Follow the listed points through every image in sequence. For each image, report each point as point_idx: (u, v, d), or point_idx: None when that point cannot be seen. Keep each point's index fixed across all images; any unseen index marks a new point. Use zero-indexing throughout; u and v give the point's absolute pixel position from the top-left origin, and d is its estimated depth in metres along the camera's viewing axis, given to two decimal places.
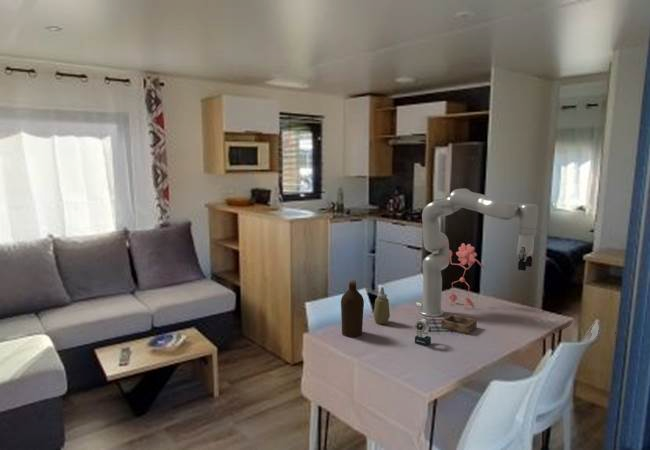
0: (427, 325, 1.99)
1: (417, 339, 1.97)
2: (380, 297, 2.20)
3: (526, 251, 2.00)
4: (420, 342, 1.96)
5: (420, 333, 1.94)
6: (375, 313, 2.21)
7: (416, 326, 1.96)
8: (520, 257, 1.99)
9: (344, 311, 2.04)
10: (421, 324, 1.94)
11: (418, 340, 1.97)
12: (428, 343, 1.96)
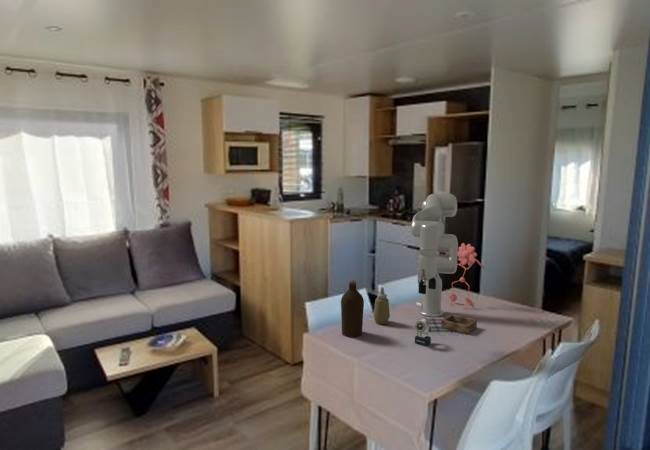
0: (427, 325, 1.99)
1: (417, 339, 1.97)
2: (380, 297, 2.20)
3: (425, 274, 1.89)
4: (420, 342, 1.96)
5: (420, 333, 1.94)
6: (375, 313, 2.21)
7: (416, 326, 1.96)
8: (419, 280, 1.88)
9: (344, 311, 2.04)
10: (421, 324, 1.94)
11: (418, 340, 1.97)
12: (428, 343, 1.96)
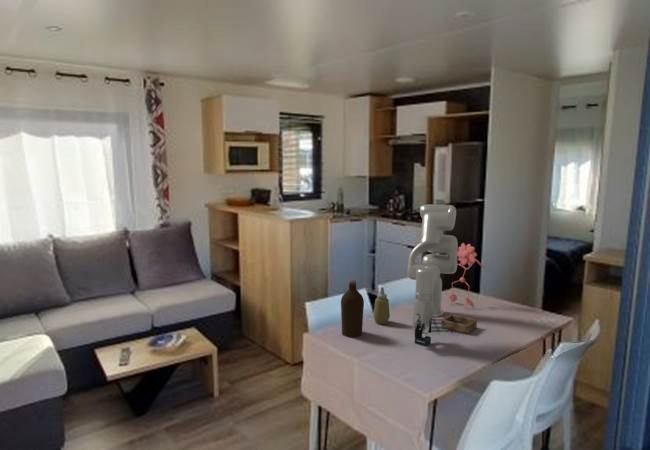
0: (427, 325, 1.99)
1: (417, 339, 1.97)
2: (380, 297, 2.20)
3: (421, 318, 1.91)
4: (420, 342, 1.96)
5: None
6: (375, 313, 2.21)
7: None
8: (415, 325, 1.91)
9: (344, 311, 2.04)
10: None
11: (418, 340, 1.97)
12: (428, 343, 1.96)
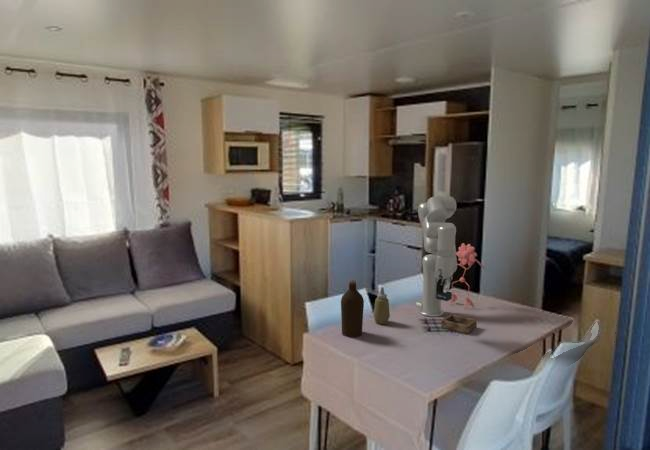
0: (448, 281, 2.07)
1: (438, 294, 2.05)
2: (380, 297, 2.20)
3: (442, 273, 1.99)
4: (441, 297, 2.04)
5: None
6: (375, 313, 2.21)
7: None
8: (436, 280, 1.99)
9: (344, 311, 2.04)
10: None
11: (439, 295, 2.05)
12: (449, 298, 2.04)
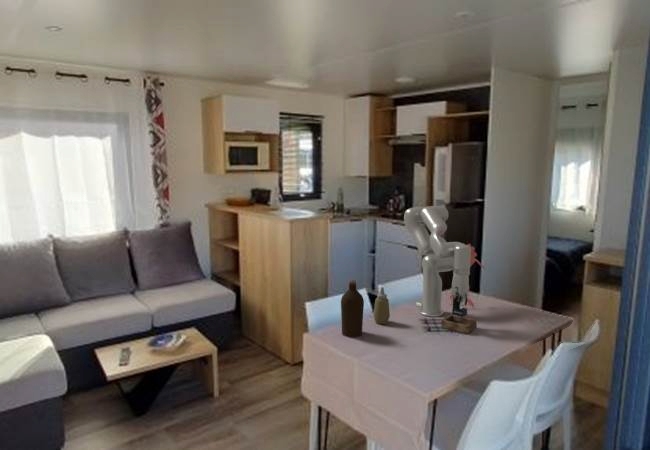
0: (463, 298, 2.17)
1: (455, 310, 2.15)
2: (380, 297, 2.20)
3: (459, 291, 2.09)
4: (457, 313, 2.14)
5: None
6: (375, 313, 2.21)
7: None
8: (453, 297, 2.09)
9: (344, 311, 2.04)
10: None
11: (455, 311, 2.14)
12: (465, 314, 2.14)
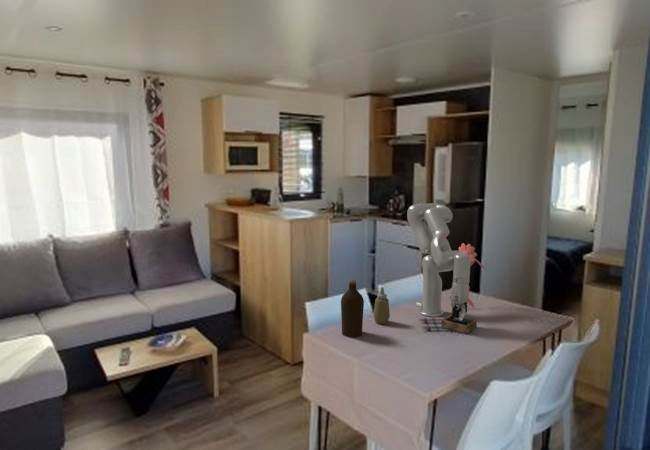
0: (463, 309, 2.18)
1: (454, 322, 2.16)
2: (380, 297, 2.20)
3: (459, 300, 2.09)
4: None
5: None
6: (375, 313, 2.21)
7: None
8: (453, 305, 2.09)
9: (344, 311, 2.04)
10: None
11: None
12: None
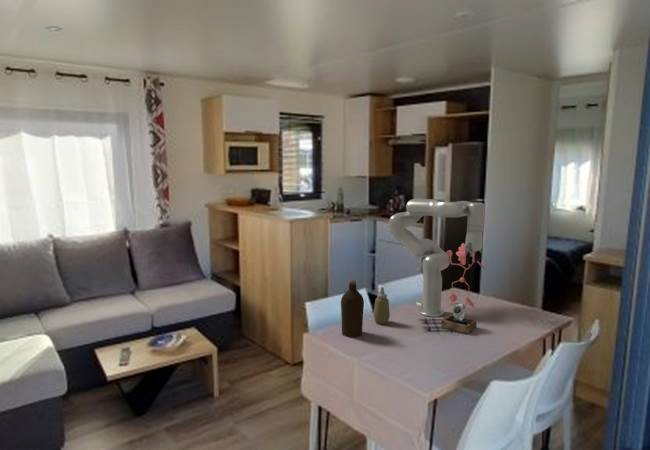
0: (463, 309, 2.18)
1: (454, 322, 2.16)
2: (380, 297, 2.20)
3: (472, 246, 2.14)
4: None
5: (458, 316, 2.13)
6: (375, 313, 2.21)
7: (454, 310, 2.14)
8: (466, 252, 2.14)
9: (344, 311, 2.04)
10: (458, 308, 2.13)
11: None
12: None
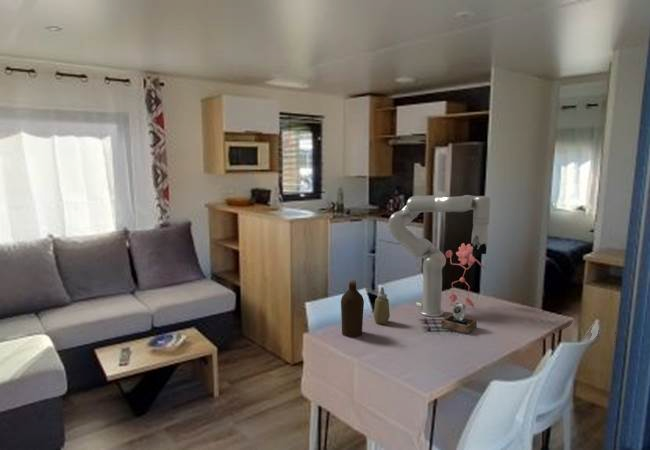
0: (463, 309, 2.18)
1: (454, 322, 2.16)
2: (380, 297, 2.20)
3: (479, 239, 2.18)
4: None
5: (458, 316, 2.13)
6: (375, 313, 2.21)
7: (454, 310, 2.14)
8: (473, 245, 2.17)
9: (344, 311, 2.04)
10: (458, 308, 2.13)
11: None
12: None
